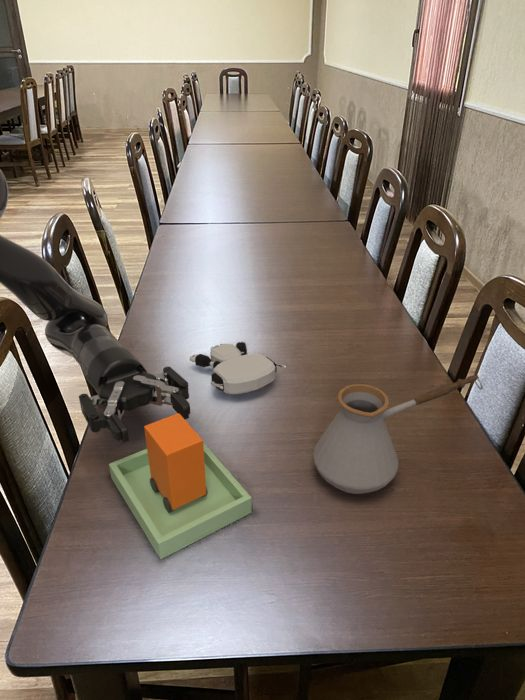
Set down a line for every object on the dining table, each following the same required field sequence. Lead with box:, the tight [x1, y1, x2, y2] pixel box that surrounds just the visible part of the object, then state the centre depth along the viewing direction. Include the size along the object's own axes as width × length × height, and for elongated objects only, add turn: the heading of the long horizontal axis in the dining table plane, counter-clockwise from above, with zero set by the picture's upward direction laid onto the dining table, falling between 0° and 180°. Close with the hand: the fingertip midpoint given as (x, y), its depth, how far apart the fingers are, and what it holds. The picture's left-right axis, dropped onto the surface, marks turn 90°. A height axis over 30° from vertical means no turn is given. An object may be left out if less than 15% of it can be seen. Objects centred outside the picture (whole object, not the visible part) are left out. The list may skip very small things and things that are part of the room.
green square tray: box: [108, 442, 253, 560], centre depth 70 cm, size 16×13×3 cm
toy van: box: [143, 413, 208, 513], centre depth 68 cm, size 7×5×10 cm
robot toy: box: [188, 341, 287, 395], centre depth 93 cm, size 12×4×15 cm
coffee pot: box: [312, 374, 484, 495], centre depth 71 cm, size 21×12×15 cm, turn 98°
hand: (157, 425), depth 70 cm, fingers open, 8 cm apart
